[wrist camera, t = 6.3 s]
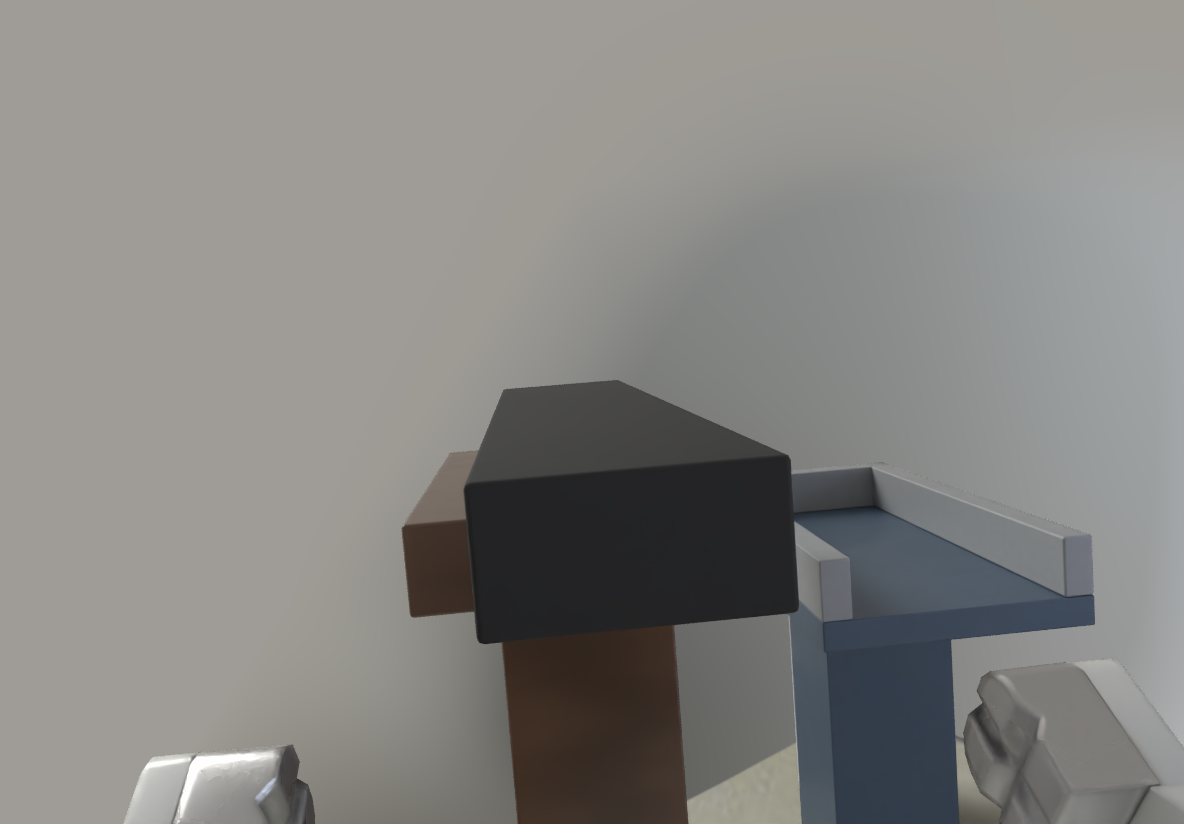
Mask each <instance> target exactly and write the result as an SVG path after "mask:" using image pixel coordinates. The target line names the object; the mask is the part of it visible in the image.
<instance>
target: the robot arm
mask: <svg viewBox="0 0 1184 824" xmlns="http://www.w3.org/2000/svg"><path fill="white" fill-rule="evenodd" d="M977 693H978V694H979V696H980V698H981V700H982V702H983V703H982V704H981V705H979V706H978V707H977V708H976V709H975V710H973V711H972V712H971V713H970V714H969V715H968V718H967V721H966V725H965V729H964V732H963V734H964V745H965V755H966V758H967V762H968V765H969V768H970V771H971V774H972V776H973V778H974V780H975V782H976V784H977V786H978V788H979V791H980V793H981V794H983V795H984V796H985V797H987V798H988V799H989V800H991V801H992V802H993V803H995V804H996V805H997V806H999V807H1000V808H1001V809H1002V812H1001V817H1000V822H999V824H1184V747H1183V745H1182V744H1181V743H1180V741H1179V740H1178V739H1177V737H1176V736H1175V735H1174V733H1173V732H1172V731H1171V729H1170V728H1169V727H1168V725H1167V724H1166V723H1165V721H1164V720H1163V719H1162V717H1161V716H1160V715H1159V713H1158V712H1157V710H1156V709H1155V708H1154V706H1153V705H1152V704H1151V702H1150V701H1149V700H1148V698H1147V697H1146V696H1145V694H1144V693H1143V692H1142V690H1141V689H1140V688H1139V686H1138V685H1137V683H1136V682H1135V681H1134V680H1133V678H1132V677H1131V675H1130V674H1129V673H1128V671H1127V670H1126V669H1125V668H1124V666H1122V665H1121V664H1120V663H1118V662H1117V661H1115V660H1114V659H1100V660H1091V661H1083V662H1075V663H1066V662H1063V663H1054V664H1046V665H1038V666H1029V667H1021V668H1014V669H1005V670H996V671H990V672H988V673H987V674H985V675H984V676H982V677H981V680H980V683H979V686H978V688H977ZM298 768H299V759H298V757H297V754H296V752H295V749H294V747H293V745H282V746H271V747H259V748H248V749H237V750H226V751H214V752H204V753H201V752H198V753H188V754H179V755H168V756H160V757H152V758H151V760H150V761H149V762H148V764H147V765H146V767H145V768H144V770H143V771H142V773H141V775H140V777H139V781H138V783H137V786H136V789H135V792H134V795H133V798H132V801H131V804H130V806H129V809H128V812H127V815H126V818H125V821H124V824H315V813H314V806H313V800H312V795H311V793H310V789H309V786H308V784H306V783H304V782H302V781H301V780H299V779H297V774H298Z"/></svg>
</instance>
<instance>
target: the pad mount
mask: <svg viewBox="0 0 1184 824" xmlns="http://www.w3.org/2000/svg"><path fill="white" fill-rule="evenodd" d="M791 475H792V491H793V508H794V525H795V542H796V559H797V576H798V593H799V608H798V611H796V612H794V613H788V615H789V618H790V634H791V651H792V668H793V684H794V701H795V717H796V734H797V751H798V767H799V784H800V801H801V817H802V824H959V809H958V787H957V764H956V742H955V719H954V696H953V674H952V651H951V640H952V639H962V638H971V637H981V636H991V635H1000V634H1009V633H1019V632H1029V631H1039V630H1048V629H1058V628H1067V627H1077V626H1087V625H1094V624H1095V612H1094V596H1093V595H1092V594H1093V560H1092V536H1091V535H1090V534H1087V533H1084V532H1081V531H1079V530H1076V529H1073V528H1070V527H1067V526H1064V525H1061V524H1058V523H1055V522H1053V521H1049V520H1047V519H1043V518H1041V517H1038V516H1035V515H1032V514H1029V513H1026V512H1023V511H1021V510H1018V509H1015V508H1012V507H1009V506H1006V505H1003V504H1000V503H998V502H995V501H992V500H989V499H986V498H983V497H980V496H977V495H974V494H971V493H969V492H965V491H963V490H960V489H957V488H954V487H951V486H948V485H945V484H942V483H940V482H936V481H934V480H931V479H928V478H925V477H922V476H919V475H917V474H914V473H911V472H908V471H905V470H902V469H899V468H896V467H893V466H890V465H888V464H885V463H871V464H859V465H849V466H837V467H826V468H815V469H804V470H793V471H791Z"/></svg>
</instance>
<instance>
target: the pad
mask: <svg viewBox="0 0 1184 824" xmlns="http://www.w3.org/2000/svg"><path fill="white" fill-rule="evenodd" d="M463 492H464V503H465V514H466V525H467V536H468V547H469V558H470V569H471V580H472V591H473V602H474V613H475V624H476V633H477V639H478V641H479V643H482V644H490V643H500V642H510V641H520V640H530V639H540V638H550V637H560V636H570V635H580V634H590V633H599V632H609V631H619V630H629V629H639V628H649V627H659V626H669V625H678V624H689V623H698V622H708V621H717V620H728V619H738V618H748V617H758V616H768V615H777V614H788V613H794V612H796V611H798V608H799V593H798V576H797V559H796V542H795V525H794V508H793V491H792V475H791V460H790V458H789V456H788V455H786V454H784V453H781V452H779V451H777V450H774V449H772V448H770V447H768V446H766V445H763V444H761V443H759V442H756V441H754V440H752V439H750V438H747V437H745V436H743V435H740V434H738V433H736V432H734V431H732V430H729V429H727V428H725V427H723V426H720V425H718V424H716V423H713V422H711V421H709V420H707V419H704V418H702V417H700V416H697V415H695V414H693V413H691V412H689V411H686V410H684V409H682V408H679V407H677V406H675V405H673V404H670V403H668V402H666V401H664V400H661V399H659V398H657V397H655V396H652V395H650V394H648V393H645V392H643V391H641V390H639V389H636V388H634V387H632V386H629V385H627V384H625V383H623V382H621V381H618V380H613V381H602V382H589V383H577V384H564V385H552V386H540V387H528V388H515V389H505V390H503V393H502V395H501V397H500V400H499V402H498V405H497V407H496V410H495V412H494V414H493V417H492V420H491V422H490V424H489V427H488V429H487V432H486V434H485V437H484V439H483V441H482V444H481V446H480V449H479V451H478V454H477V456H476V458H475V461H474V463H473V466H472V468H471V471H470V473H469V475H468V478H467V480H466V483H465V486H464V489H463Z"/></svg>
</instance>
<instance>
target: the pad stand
mask: <svg viewBox="0 0 1184 824" xmlns="http://www.w3.org/2000/svg"><path fill="white" fill-rule="evenodd" d="M478 451H479V450H478ZM478 451H467V452H456V453H450V454H449V455H448V457H447V459H446V460H445V461H444V463H443V465H442V466H441V468H440V469H439V471H438V472H437V474H436V475H435V477H434V478H433V480H432V482H431V483H430V484H429V486H428V487H427V489H426V491H425V492H424V494H423V495H422V497H421V498H420V500H419V501H418V503H417V504H416V506H415V507H414V509H413V511H412V512H411V513H410V515H409V517H408V518H407V520H406V521H405V523H404V524H403V526H402V538H403V548H404V558H405V569H406V579H407V589H408V598H409V609H410V615H411V617H425V616H436V615H446V614H455V613H465V612H474V602H473V591H472V580H471V569H470V558H469V547H468V536H467V525H466V514H465V503H464V492H463V489H464V486H465V483H466V480H467V478H468V475H469V473H470V471H471V468H472V466H473V463H474V461H475V458H476V456H477V454H478ZM502 653H503V664H504V676H505V686H506V698H507V710H508V721H509V732H510V743H511V754H512V765H513V775H514V776H513V777H514V787H515V799H516V810H517V822H518V824H688V813H687V799H686V785H685V771H684V757H683V744H682V729H681V715H680V701H679V688H678V673H677V660H676V646H675V632H674V625H669V626H659V627H649V628H639V629H629V630H619V631H609V632H599V633H590V634H580V635H570V636H560V637H550V638H540V639H530V640H520V641H510V642H502Z"/></svg>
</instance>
